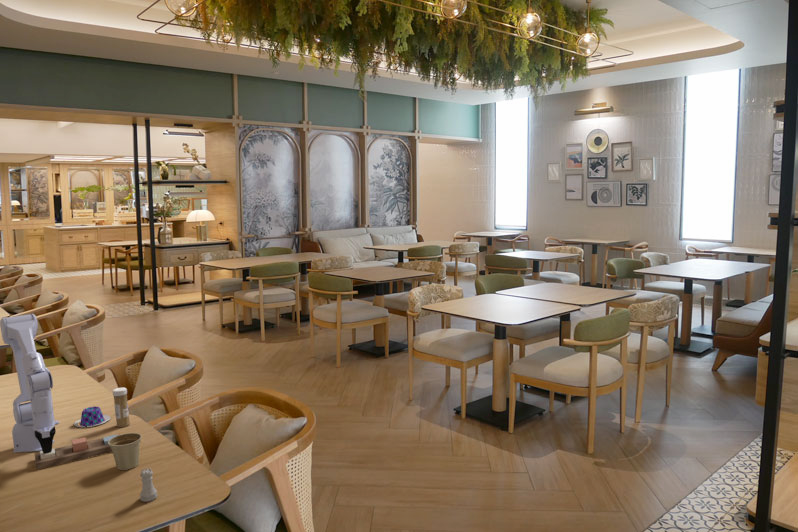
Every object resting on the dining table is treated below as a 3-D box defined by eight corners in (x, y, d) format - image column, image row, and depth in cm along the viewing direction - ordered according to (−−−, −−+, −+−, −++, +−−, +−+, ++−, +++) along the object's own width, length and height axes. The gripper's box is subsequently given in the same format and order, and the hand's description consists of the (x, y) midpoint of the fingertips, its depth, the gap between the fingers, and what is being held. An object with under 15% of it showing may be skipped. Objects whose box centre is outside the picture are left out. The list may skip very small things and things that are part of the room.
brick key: (73, 453, 195) (72, 444, 195) (72, 448, 198) (71, 440, 198) (87, 449, 197) (86, 441, 197) (86, 445, 200) (85, 437, 200)
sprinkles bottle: (131, 425, 221) (127, 389, 219) (117, 428, 218) (113, 392, 216) (128, 421, 224) (125, 386, 223) (115, 424, 222) (111, 388, 220)
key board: (36, 469, 188) (35, 463, 187) (35, 459, 195) (34, 453, 195) (125, 449, 201) (124, 443, 200) (120, 439, 208) (120, 434, 208)
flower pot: (111, 476, 182) (108, 448, 181) (109, 463, 190) (107, 437, 189) (145, 468, 186) (143, 441, 185) (142, 456, 194) (140, 430, 193)
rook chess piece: (143, 494, 170) (140, 467, 169) (159, 493, 170) (157, 466, 169) (137, 503, 165) (134, 474, 164) (154, 501, 166) (152, 473, 165)
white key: (41, 465, 190) (40, 456, 190) (40, 460, 194) (39, 451, 193) (56, 461, 193) (55, 452, 192) (55, 457, 196) (54, 448, 196)
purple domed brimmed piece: (66, 427, 222) (64, 413, 221) (91, 415, 233) (90, 402, 233) (93, 430, 218) (92, 416, 218) (118, 417, 230) (116, 404, 229)
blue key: (105, 450, 200) (104, 441, 199) (103, 445, 203) (102, 437, 203) (118, 447, 202) (117, 438, 202) (117, 442, 205) (116, 434, 205)
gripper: (58, 414, 187) (63, 457, 189) (55, 401, 199) (60, 441, 201) (31, 419, 183) (37, 463, 185) (30, 406, 196) (35, 446, 197)
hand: (47, 452), depth 193 cm, fingers closed, pressing on white key
